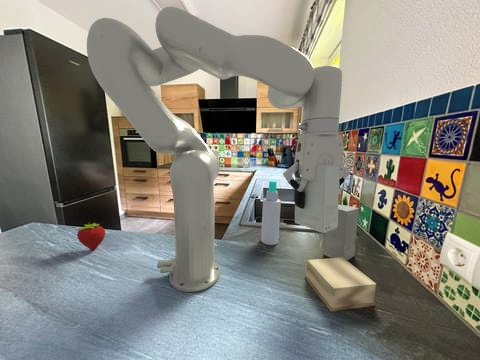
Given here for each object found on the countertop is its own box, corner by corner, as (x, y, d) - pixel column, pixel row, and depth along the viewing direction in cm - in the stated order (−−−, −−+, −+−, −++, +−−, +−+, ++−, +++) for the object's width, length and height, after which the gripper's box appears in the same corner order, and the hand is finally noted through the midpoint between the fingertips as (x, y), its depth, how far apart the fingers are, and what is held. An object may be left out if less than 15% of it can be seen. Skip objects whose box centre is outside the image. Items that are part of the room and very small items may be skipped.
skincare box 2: (342, 264, 54) (349, 212, 52) (319, 253, 60) (324, 206, 57) (355, 255, 59) (362, 207, 57) (333, 246, 65) (338, 202, 62)
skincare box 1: (337, 228, 43) (343, 164, 41) (322, 234, 40) (327, 165, 38) (307, 218, 50) (310, 162, 48) (291, 222, 47) (294, 163, 45)
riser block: (330, 311, 38) (333, 289, 37) (304, 277, 48) (306, 259, 47) (374, 305, 40) (377, 284, 39) (340, 274, 50) (342, 256, 49)
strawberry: (97, 256, 55) (94, 223, 53) (72, 254, 55) (69, 222, 54) (111, 246, 61) (109, 216, 59) (89, 244, 61) (86, 215, 60)
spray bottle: (259, 237, 70) (262, 179, 66) (275, 237, 70) (279, 180, 67) (262, 245, 64) (265, 182, 60) (280, 245, 64) (284, 182, 61)
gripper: (291, 126, 36) (288, 213, 39) (367, 128, 40) (359, 208, 42) (276, 130, 44) (274, 203, 46) (341, 131, 47) (336, 200, 50)
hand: (315, 205), depth 44 cm, fingers closed on skincare box 1, 7 cm apart
